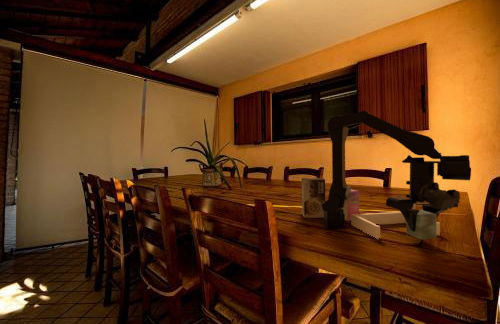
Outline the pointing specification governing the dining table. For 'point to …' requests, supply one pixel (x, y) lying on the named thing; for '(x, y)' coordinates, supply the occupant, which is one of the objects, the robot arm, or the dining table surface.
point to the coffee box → (313, 197)
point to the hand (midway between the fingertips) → (420, 230)
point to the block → (424, 226)
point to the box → (352, 205)
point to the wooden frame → (379, 222)
